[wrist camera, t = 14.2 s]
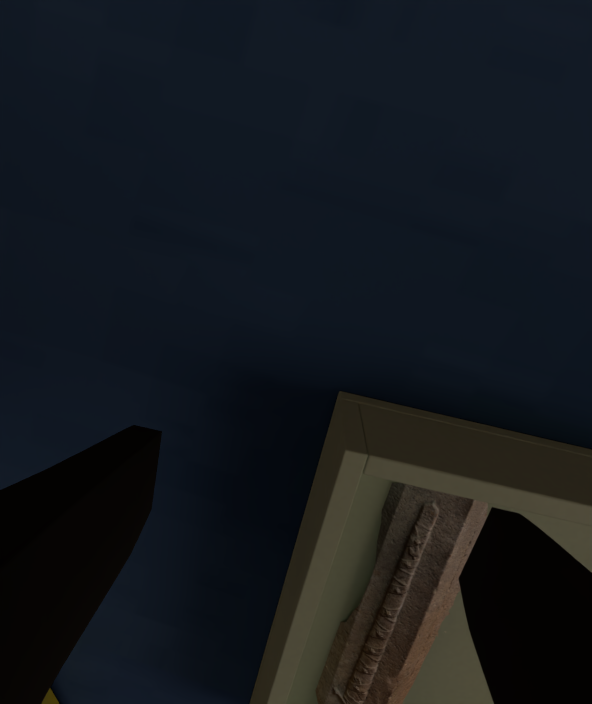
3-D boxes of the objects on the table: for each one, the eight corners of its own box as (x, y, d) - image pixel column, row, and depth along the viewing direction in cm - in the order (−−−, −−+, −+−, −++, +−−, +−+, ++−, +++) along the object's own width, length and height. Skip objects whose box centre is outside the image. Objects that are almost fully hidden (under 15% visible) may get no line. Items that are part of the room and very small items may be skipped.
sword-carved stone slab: (397, 739, 24) (340, 782, 21) (360, 681, 26) (305, 713, 24) (527, 482, 18) (468, 501, 15) (463, 438, 20) (404, 449, 18)
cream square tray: (248, 705, 25) (232, 814, 21) (339, 390, 18) (344, 449, 14) (590, 780, 26) (647, 902, 21) (808, 499, 19) (965, 592, 14)
